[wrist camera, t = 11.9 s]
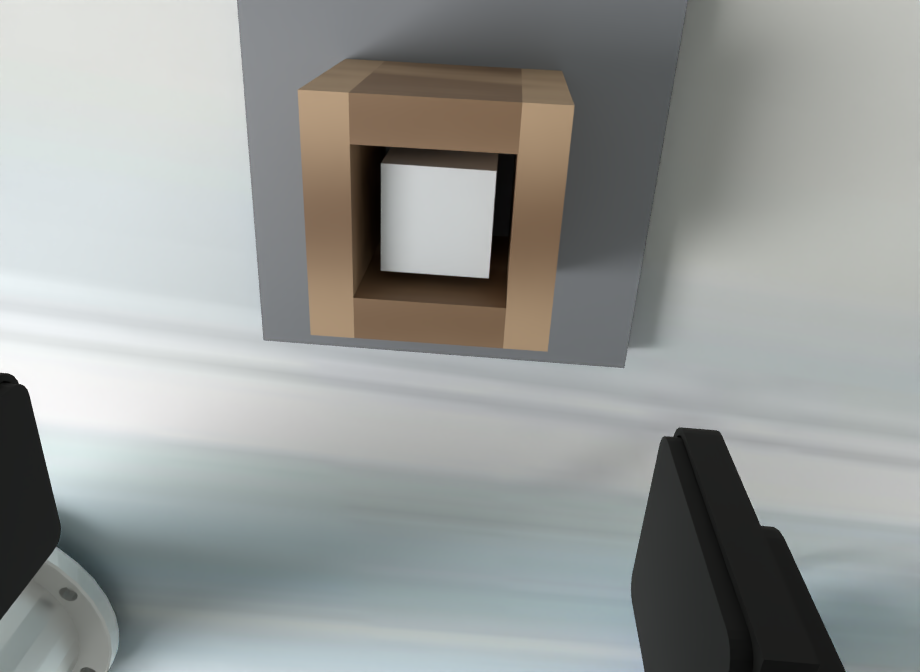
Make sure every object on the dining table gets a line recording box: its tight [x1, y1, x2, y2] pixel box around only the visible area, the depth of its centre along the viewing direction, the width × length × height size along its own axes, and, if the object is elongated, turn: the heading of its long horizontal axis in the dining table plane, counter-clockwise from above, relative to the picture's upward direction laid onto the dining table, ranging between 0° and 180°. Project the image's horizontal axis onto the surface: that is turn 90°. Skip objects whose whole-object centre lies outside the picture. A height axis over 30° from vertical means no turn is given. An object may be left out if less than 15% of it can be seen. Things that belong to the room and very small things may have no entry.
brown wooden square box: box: [298, 59, 575, 352], centre depth 23 cm, size 7×7×6 cm
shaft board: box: [237, 0, 688, 368], centre depth 24 cm, size 14×14×6 cm
